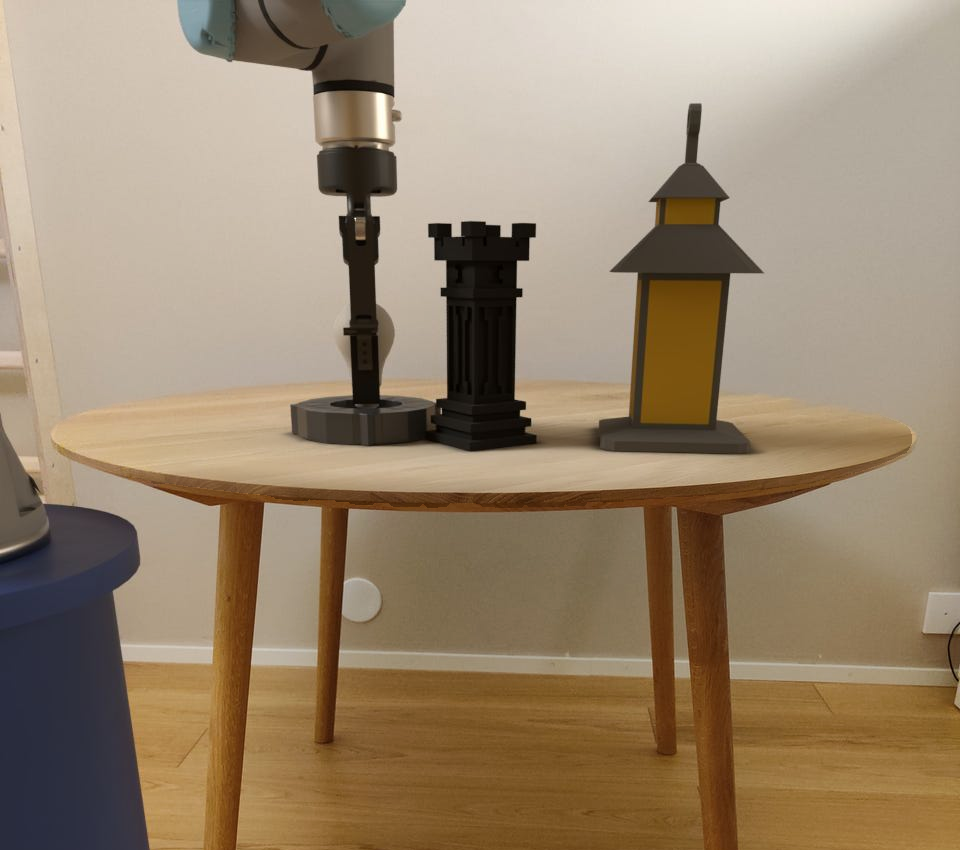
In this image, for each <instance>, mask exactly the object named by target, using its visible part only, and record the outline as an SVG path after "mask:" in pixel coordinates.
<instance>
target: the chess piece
mask: <svg viewBox="0 0 960 850" xmlns="http://www.w3.org/2000/svg"><path fill="white" fill-rule="evenodd" d="M501 228H502V227H501V224H487V221H481V220H480V221H478V220H466V221H460V236H453V223H445V222H433V223H431V222H430V223H427V238H429V239H430V238H433V251H434V253H433V254H434V255H433V256H434V258H433V259H434V261H435V262H436V261H437V262H438V261H439V262H441V261H445V287H440V297H443V298H446V299H445V300H446V301H445V302H446V303H445V304H446V311H445V313H446V397H444V398H443V397H441V398H435V402H436V407H438V408H441V414H437V415H431V423H432V424H436V430H430V431H426V438H425V440H428V441H432V442H435V443H439V444H442V445H447V446H449V447H453V448H458V449H461V450H464V451H467V452H472V451H481V450H482V451H483V450H489V449H498V448H499V449H500V448H505V447H507V448H508V447H515V446H524V445H531V444H537V443H538V442H537V440H538V439H537V437H538V436H537V435H538V434H535V433H530V432H527V431H526V428H531V427H532V417H528V416H523V415H521V411H526V410H527V401H526V400H520V399H516V357H517V355H516V353H517V352H516V350H517V349H516V348H517V346H516V345H517V300H518V299H517V298H523V293H524V289H523V288H522V287H518V262H529V261H530V248H531V247H530V246H531V243H530V240H531V239H534V238H537V223H536V222H513V223H511V236H502V235H501V234H502V233H501V231H502V229H501Z"/></svg>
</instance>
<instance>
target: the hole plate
mask: <svg viewBox="0 0 960 850" xmlns="http://www.w3.org/2000/svg"><path fill="white" fill-rule="evenodd" d="M289 406H290V421H291V434H292V435H297V436H299V437H300V438H302V439H305V440H308V441H310V442H311V441H312V442H318V443H324V444H336V445H337V444H338V445H351V446H353V445H355V446H356V445H360V446H373V445H389V444H399V443H410V442H414V441H420V440H424V439H425V440H426V431H430V430H436V424H432V423H431V415H437V414H442V408H438V407H436V401H433V400H430V399H425V398H422V397H413V396H405V395H386V394H380V404H379V406H378V407H376V408H374V409H360V408H358V407H356V406H355V404H353V394H350V395H336V396H335V395H334V396H325V397H324V396H323V397H317V398H310V399H306V400H303V401H300V402H298V403H291V404H290V405H289Z"/></svg>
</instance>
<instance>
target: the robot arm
mask: <svg viewBox="0 0 960 850" xmlns="http://www.w3.org/2000/svg"><path fill="white" fill-rule="evenodd" d="M406 3H407V0H176V4H177V12H178V20H179V23H180V27H181V30H182V32H183V35H184V37H185V40H186V41H187V43H188V44H189V46H190V47H191V48H192V49H193V50H194V51H196V52H197V53H199V54H201V55H204V56H209V57H214V58H218V59H221V60H225V61H226V62H228V63H233V61H235V62H241V63H242V62H243V63H250V64H257V65H265V66H272V67H280V68H287V69H295V70H299V71H305V72H311V77H312V78H311V79H312V87H313V88H312V89H313V90H312V91H313V96H312V101H313V102H312V103H313V121H314V139H315V140H314V141H315V142H316V143H317V145H319V146H321V147H322V148H321V150H319V151H318V153H317V154H316V165H317V168H316V169H317V185H318V186H317V187H318V190H319V193H321V194H323V195H325V196H330V197H346V215H338V231H339V236H340V237H341V241H342V242H341V244H342V261H343V263H344V264H345V265H346V266H347V267H348V283H349V304H350V311H351V319H350V320H349V324H350V327H343V332H344V336H350V347H351V370H352V385H351V391H352V395H353V404H380V395H381V389H380V388H381V386H380V384H379V354H378V335H377V332H378V320H377V316H376V304H377V294H376V293H377V289H376V288H377V287H376V265H377V264H378V263H379V261H380V260H379V259H380V253H379V252H380V251H379V237H380V235H381V216H380V215H373V214H372V203H371V201H372V199H371V197H372V198H373V197H375V198H377V197H379V198H382V197H383V198H384V197H390V196H394V195H395V194H396V193H397V191H398V166H397V165H398V163H397V161H398V160H397V155H396V154H395V152H394V151H391V150H390V148H391V147H394V145H395V144H396V125H395V123H394V122H397V123H399V122H401V121H402V119H403V114H402V113H403V112H401V110H398V109H393V108H394V106H395V23H394V22H395V19H396V18H397V17H398V16H399V15H400V13H401V12H402V11H403V10H404V8H405V6H406ZM39 494H42V492H41V490H40V489H39V487H38V485H37V483H36V481H35V479H34V478H33V477H32V476H31V475H30V474H29V473H28V472H27V471H26V468H25V467H24V465H23V463H22V461H21V460H20V457H19V456H18V454H17V452H16V450H15V448H14V446H13V445H12V442H11V440H10V439H9V437H8V434H7V433H6V430H5V427H4V425H3V419H2V414H1V413H0V565H3V564H6V563H10V562H13V561H16V560H18V559H21V558H24V557H26V556H29V555H31V554H33V553H35V552H37V551H38V550H40V549H42V548H43V547H44V546H46V545H47V544H48V543H49V541H50V539H51V533H50V526H49V520H48V517H47V516H46V510H45V507H44V505H43V504H44V503H43V501H42V499H41V497H40V495H39Z"/></svg>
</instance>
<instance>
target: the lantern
mask: <svg viewBox="0 0 960 850" xmlns="http://www.w3.org/2000/svg"><path fill="white" fill-rule="evenodd" d="M702 111H703V105H702V102H700V103H698V102H697V103H696V102H695V103H692V102H691V103H689V104H688V109H687V118H686V143H685V153H684V154H685V155H684V163H682V164H680V165H679V166H678V167H677V168H676V169H675V170H674V171H673V172H672V174H671V175H670V176H669V177H668V178H667V180H666V181H665V182H664V183H663V184H662V185H661V187H659V189H658V190H657V191H656V192H655V193H654V194H653V196H652V197H651V198H650V199H649V200H648V201H647V202H648V203H656V204H655V221H654V227H653V228H652V229H651V230H649V232H647V234H646V235H645V236H644V237H642V238H641V239H640V241H638V242H637V244H636V245H635V246H634V247H633V248H631V250H630V251H629V252H627V253H626V255H624V257H622V258H621V259H620V260H619V261H618V262H617V263H616V264H615V265H614V266H613V267H612V268H611V269H610V270H609V273H617V274H618V273H619V274H620V273H621V274H623V273H625V274H626V273H627V274H628V273H629V274H631V273H632V274H634V273H637V279H636V293H635V310H634V327H633V343H632V361H631V376H630V390H629V391H630V392H629V405H628V408H629V409H628V416H621V417H611V418H601V419H599V420H598V437H599V446H600V449H602V450H604V451H612V452H642V453H643V452H647V453H648V452H650V453H686V454H687V453H689V454H690V453H691V454H692V453H693V454H729V455H730V454H732V455H733V454H734V455H739V454H748V453H749V452H750V443H751V441H750V440H749V439H748V438H747V437H746V436H745V435H744V434H743V433H742V432H741V430H739V428H738V427H737V426H736V425H735V424H734V423H732V422H729V421H726V420H719V419H718V409H719V398H720V387H721V379H722V378H721V377H722V369H723V368H722V366H723V357H724V344H725V335H726V326H727V325H726V324H727V314H728V304H729V293H730V285H731V284H730V283H731V274H765V272H764V271H763V270H762V269H761V268H760V266H758V264H757V263H756V262H755V261H754V260H753V259H752V258H751V257H750V256H749V255H748V254H747V252H745V251H744V250H743V249H742V247H740V245H739V244H738V243H737V242H736V241H735V240H734V239H733V238H732V237H731V236H730V235H729V234H728V232H726V231H725V230H724V229H723V228H722V226H720V224H719V222H720V212H721V203H722V202H724V201H726V200H728V199H730V196H729V195H728V193H727V192H726V191H725V190H724V189H723V187H721V185H720V184H719V183H718V182H717V180H716V179H715V178H714V177H713V176H712V174H711V173H710V172H709V171H708V170H707V168H705V165H702V164H700V163H699V162H698V150H699V137H700V132H701V125H702V124H701V123H702Z"/></svg>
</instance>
